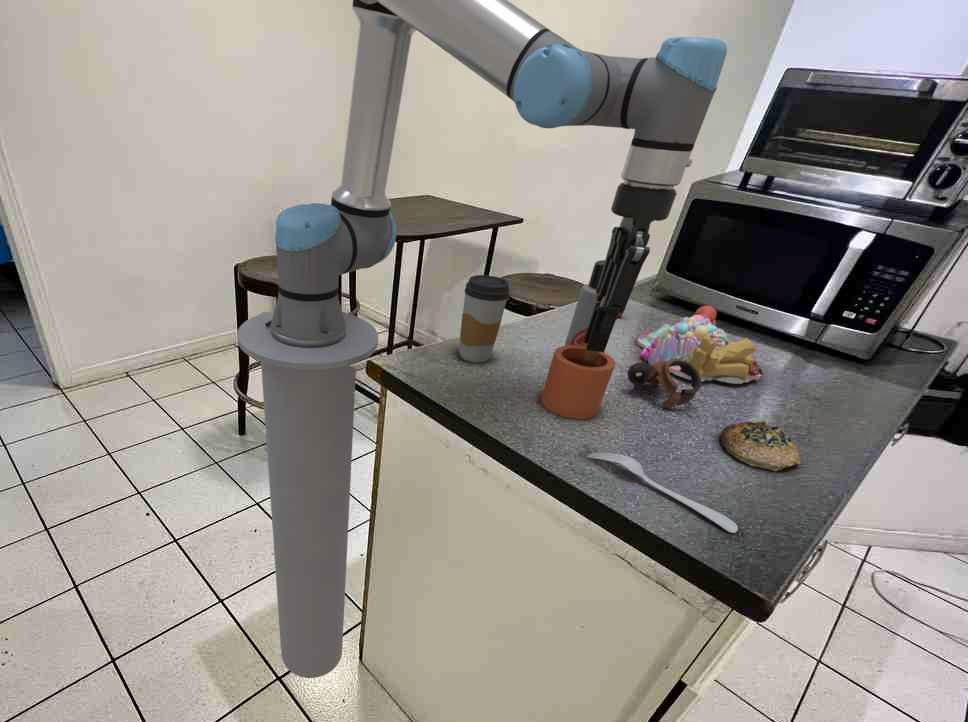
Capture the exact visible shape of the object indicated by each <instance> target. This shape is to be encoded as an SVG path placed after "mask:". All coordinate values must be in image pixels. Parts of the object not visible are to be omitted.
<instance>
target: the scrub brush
mask: <svg viewBox="0 0 968 722" xmlns="http://www.w3.org/2000/svg"><path fill="white" fill-rule="evenodd" d="M605 296H606V295H605ZM605 296H604V297H603V299H602V301H601V304H600V306H602V305H603V302H604V299H605ZM597 314H598V313H597ZM596 317H597V316H596ZM595 320H596V319H595ZM594 323H595V322H594ZM593 326H594V325H593ZM592 329H593V328H592ZM591 332H592V331H591ZM590 335H591V334H590ZM589 338H590V337H589ZM588 341H589V340H588ZM598 355H599V352H598V351H590V350H587V349H586V350H585V353H584V356H583V359H582V362H581V365H582V366H587V367H595V364H596V361H597V358H598Z"/></svg>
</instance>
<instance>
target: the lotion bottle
mask: <svg viewBox="0 0 968 722" xmlns="http://www.w3.org/2000/svg"><path fill="white" fill-rule="evenodd" d="M604 263H605V259H602V260H597V261H596V262H594V265H593V267H592V271H591V275H590V278H589V282H588V284H583V285H582V286H581V290H580V292H579V296H578V300H577V303H576V305H575V310H574V313H573V316H572V319H571V323H570V326H569V329H568V332H567V336H566V339H565V342H564V345H563V346H566V345H576V346H577V345H578V346H585V347H587V344H588V343H584V339H585V336H586V333H587V330H588V327H589V324H590V321H591V317H592V314H593V311H594V308H595V305H596V303H599V302H598V301H597V295H598V294H596V289H597V287H598V283H599V280H600V276H601V273H602V270H603V266H604Z"/></svg>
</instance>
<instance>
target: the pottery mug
mask: <svg viewBox="0 0 968 722" xmlns="http://www.w3.org/2000/svg"><path fill="white" fill-rule="evenodd" d="M672 366H680V367H681V370H680V372H682V373H684V374H686V375H688V376H691V378H692V380H691V384H690V387H692V388H689V389H688V388H682V390H681V391H680V392H679V391H676V390H678V388H679V384H678V383H676V381H675V380H674V379H673V378H672V375H671V372H669V367H672ZM638 373H640V374H639V375H637V374H638ZM627 378H628V380H629V382H630V383H631V384H633V387H634V389H635V391H637V392H640V391H641V389H642V387H644V385H645V384H647V383H648V384H651V385H654V386H656V387H659V385H661V386H662V388H663V389H664V391H665V393H667V394H668V398H667V399H666V400H665V401H663V402H662V405H661V406H662V407H664V408H665V409H667V410H669V409H672V408H674V407H675V406H681V405H684V404H685V405H686V404H687V403H690V401H692V400H693V399H694V397H695V396H696V393H697V392H698V391H700V389H701V387H702V381H701V378H700V375H699V373H698V372H697V370H696V369H695V368H694V367H693V366H692V365H691V364H689V363H688V362H686V361H683V360H681V359H676V358H675V359H670V360H668V361H661V362H657V363H655V364H653V365H650V364H649V363H646V362H636V363H633V364H632V365H631V366H630V367H628V369H627Z"/></svg>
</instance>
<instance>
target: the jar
mask: <svg viewBox="0 0 968 722" xmlns="http://www.w3.org/2000/svg"><path fill="white" fill-rule="evenodd" d="M585 350H586V347H585V346H578V345H577V346H576V345H566V346H564V345H560V346H559V347H557V348H555V350H554V352H553V355H552V359H551V362H550V365H549V369H548V373H547V376H546V379H545V382H544V386H543V389H542V393H541V397H540V401H541V404H542V405H543V407H545V409H546V410H548V411H550V412H552V413H554V414H556V415H558V416H561V417H564V418H568V419H574V420H586V419H591V418H593V417H595V416H596V415H597V414H598V412H599V409H600V406H601V403H602V402H603V399H604V397H605V393H606V390H607V387H608V385H609V383H610V379H611V377H612V374H613V372H614V369H615V366H616V360H615V359H614V358H613V357H612V356H611V355H610V354H607V353H606V352H605V351H604V352H599V355H598V358H597V361H596V364H595V367H587V366H582V365H581V362H582V359H583V356H584V353H585Z"/></svg>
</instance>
